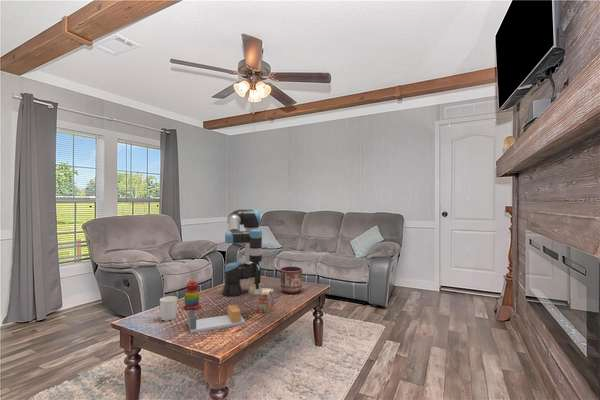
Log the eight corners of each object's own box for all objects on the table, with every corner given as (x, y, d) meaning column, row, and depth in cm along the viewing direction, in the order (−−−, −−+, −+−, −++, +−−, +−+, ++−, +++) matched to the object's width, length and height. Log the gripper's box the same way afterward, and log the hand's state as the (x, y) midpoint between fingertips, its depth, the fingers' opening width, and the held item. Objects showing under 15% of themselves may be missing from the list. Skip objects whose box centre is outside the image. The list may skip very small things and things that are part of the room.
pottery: (275, 292, 234) (275, 269, 234) (287, 287, 249) (288, 265, 249) (294, 296, 225) (294, 272, 225) (306, 290, 240) (306, 268, 240)
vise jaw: (227, 315, 183) (227, 305, 183) (235, 314, 185) (235, 304, 185) (232, 322, 172) (232, 312, 172) (240, 321, 174) (240, 310, 174)
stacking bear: (202, 308, 199) (202, 281, 199) (185, 311, 194) (186, 283, 194) (198, 303, 208) (198, 278, 208) (182, 306, 203) (183, 279, 203)
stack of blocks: (264, 301, 213) (264, 284, 213) (273, 302, 213) (273, 284, 213) (258, 313, 192) (258, 293, 192) (268, 313, 192) (268, 294, 192)
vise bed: (188, 323, 174) (188, 310, 175) (239, 315, 187) (239, 303, 187) (190, 333, 162) (190, 319, 162) (245, 323, 175) (245, 310, 175)
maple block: (248, 292, 185) (248, 278, 185) (259, 291, 188) (259, 277, 188) (250, 295, 181) (251, 280, 181) (262, 293, 184) (262, 279, 184)
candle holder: (163, 315, 186) (163, 296, 186) (179, 315, 187) (179, 295, 187) (156, 322, 177) (157, 301, 177) (174, 321, 177) (174, 301, 178)
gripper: (245, 252, 191) (245, 289, 191) (253, 257, 175) (253, 298, 175) (257, 251, 194) (256, 287, 194) (266, 257, 178) (265, 296, 178)
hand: (255, 292), depth 185 cm, fingers closed on maple block, 5 cm apart
